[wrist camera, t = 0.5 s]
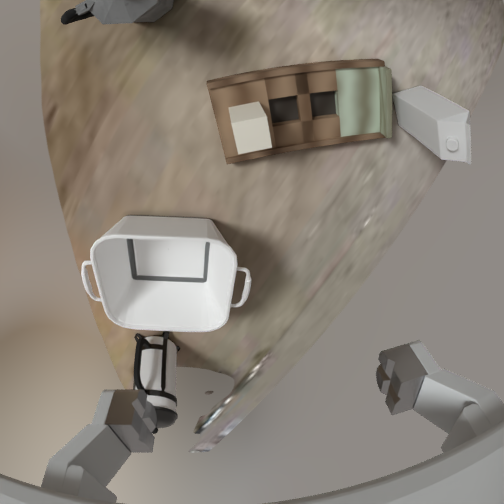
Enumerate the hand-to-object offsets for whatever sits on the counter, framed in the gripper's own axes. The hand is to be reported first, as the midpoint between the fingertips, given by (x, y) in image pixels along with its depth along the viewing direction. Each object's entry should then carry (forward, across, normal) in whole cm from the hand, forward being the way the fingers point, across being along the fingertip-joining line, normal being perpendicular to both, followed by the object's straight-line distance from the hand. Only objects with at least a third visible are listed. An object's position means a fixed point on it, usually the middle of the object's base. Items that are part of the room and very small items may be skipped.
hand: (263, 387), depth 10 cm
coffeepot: (+42, +10, -30) cm, 53 cm away
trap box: (+48, -13, -8) cm, 51 cm away
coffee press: (+66, +32, +50) cm, 89 cm away
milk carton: (+49, -35, -7) cm, 61 cm away
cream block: (+47, -3, -7) cm, 47 cm away
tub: (+57, +17, +18) cm, 62 cm away
